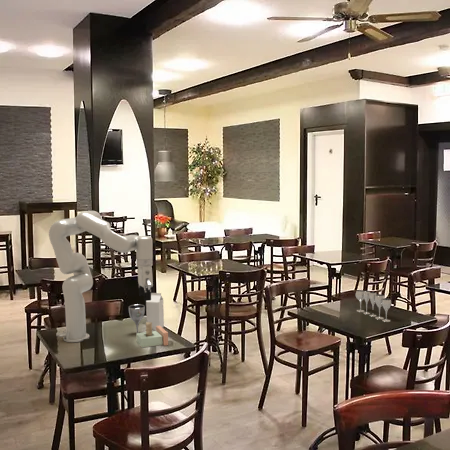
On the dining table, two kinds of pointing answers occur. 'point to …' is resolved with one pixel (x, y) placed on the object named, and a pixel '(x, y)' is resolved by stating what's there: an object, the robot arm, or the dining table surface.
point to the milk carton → (155, 310)
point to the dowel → (148, 329)
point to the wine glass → (136, 313)
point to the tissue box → (149, 339)
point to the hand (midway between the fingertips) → (144, 298)
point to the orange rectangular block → (163, 334)
